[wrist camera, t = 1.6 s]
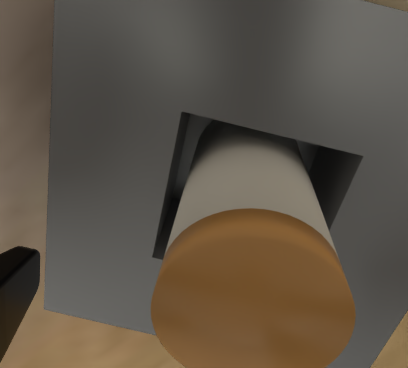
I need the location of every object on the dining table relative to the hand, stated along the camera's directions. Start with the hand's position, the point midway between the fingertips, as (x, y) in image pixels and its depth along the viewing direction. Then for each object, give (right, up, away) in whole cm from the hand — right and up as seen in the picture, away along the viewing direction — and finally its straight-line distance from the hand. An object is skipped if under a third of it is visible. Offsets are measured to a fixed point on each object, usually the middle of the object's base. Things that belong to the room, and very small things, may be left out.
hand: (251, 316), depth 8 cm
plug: (+1, +4, +7) cm, 8 cm away
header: (+1, +4, +8) cm, 9 cm away
